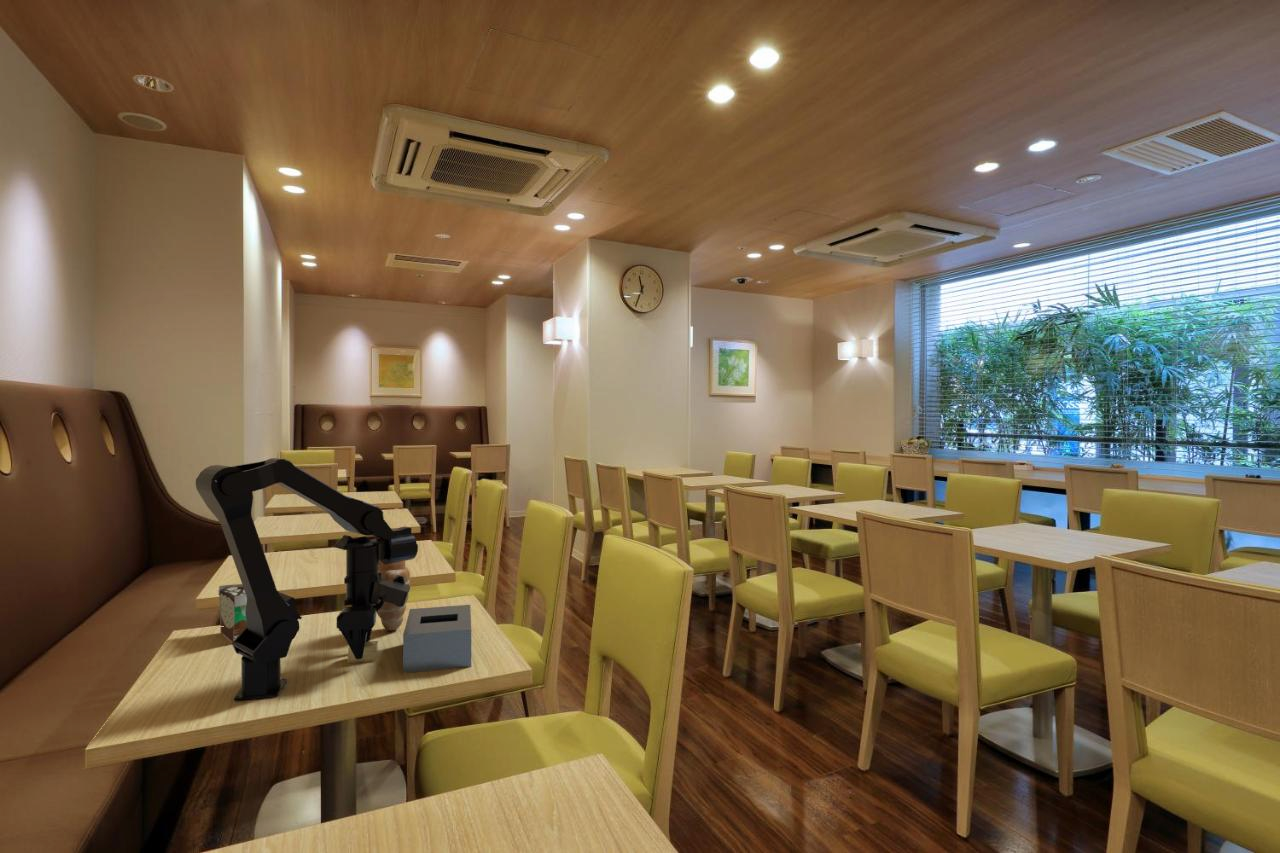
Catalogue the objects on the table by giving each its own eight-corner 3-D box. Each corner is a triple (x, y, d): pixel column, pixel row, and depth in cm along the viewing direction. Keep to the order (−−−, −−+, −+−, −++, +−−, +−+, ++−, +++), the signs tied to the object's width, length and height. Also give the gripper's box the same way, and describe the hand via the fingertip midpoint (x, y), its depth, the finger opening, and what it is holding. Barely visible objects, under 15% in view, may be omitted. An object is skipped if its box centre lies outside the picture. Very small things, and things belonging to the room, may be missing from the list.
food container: (269, 638, 134) (269, 590, 134) (235, 646, 130) (235, 596, 129) (250, 624, 142) (250, 580, 142) (218, 631, 138) (218, 585, 138)
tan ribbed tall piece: (370, 627, 141) (370, 546, 141) (407, 621, 145) (407, 542, 145) (373, 639, 133) (373, 553, 133) (413, 633, 137) (413, 550, 137)
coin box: (471, 666, 120) (471, 629, 119) (403, 673, 116) (403, 634, 116) (470, 637, 135) (470, 604, 135) (410, 642, 132) (410, 609, 132)
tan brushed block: (376, 661, 122) (376, 645, 122) (348, 664, 121) (347, 648, 121) (378, 655, 125) (377, 640, 125) (350, 658, 124) (350, 643, 124)
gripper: (402, 578, 116) (403, 664, 116) (410, 556, 134) (411, 630, 134) (335, 582, 113) (336, 670, 113) (353, 559, 131) (353, 635, 131)
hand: (362, 649), depth 123 cm, fingers open, 9 cm apart
